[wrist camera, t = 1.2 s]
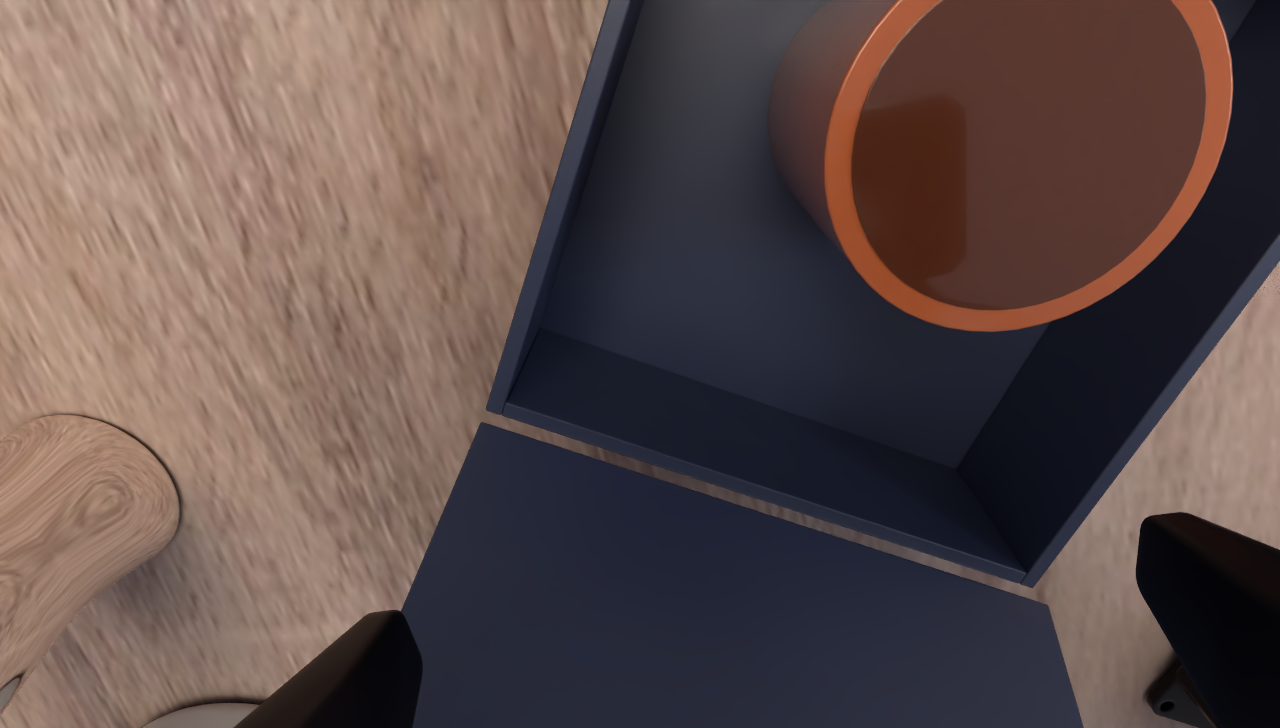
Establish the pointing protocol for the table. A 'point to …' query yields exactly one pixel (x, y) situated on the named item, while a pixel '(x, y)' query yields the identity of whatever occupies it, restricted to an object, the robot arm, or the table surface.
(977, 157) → the cup
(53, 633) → the beer glass
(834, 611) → the flap
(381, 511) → the table surface
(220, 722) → the cylinder vase
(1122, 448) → the carton
